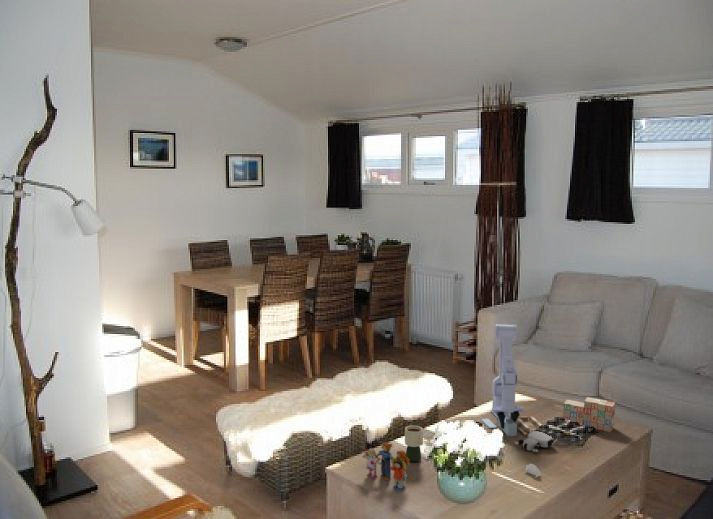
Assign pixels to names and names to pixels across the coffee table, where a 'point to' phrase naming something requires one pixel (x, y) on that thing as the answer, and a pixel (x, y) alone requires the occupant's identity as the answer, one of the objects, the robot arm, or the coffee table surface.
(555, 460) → the coffee table surface
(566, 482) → the coffee table surface
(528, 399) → the coffee table surface
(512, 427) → the light blue block
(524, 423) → the wooden pallet
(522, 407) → the robot arm
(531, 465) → the car cutout
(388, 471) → the doll family
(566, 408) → the stack of blocks
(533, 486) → the coffee table surface
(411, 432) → the character mug
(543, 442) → the robot toy
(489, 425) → the wing plate
